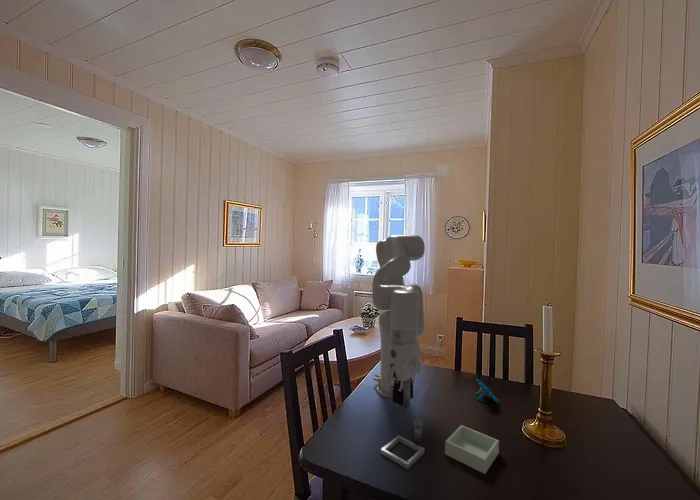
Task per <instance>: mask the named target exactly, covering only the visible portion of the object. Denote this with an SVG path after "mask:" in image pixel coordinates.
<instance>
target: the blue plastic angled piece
mask: <svg viewBox="0 0 700 500" xmlns="http://www.w3.org/2000/svg"><path fill="white" fill-rule="evenodd" d="M476 382H477V383H478V385H479V386H480V388H479V390H478V391H477V392H475V394H476V395H477V397H476V399H477V401H480V400H482V399H483V398H484V397H485V396H487V395H488V396H489V397H490V398H492V399H493V401H494V402H496V403H497V404H499V403H500V401H499V399H498V398H497V397H496V395H494V394H493V393H492V391H491V388H489V387H487V386H486V385H485V384H484V382H482V381H481V380H480V379H479V378H477V379H476ZM479 394H480V395H479ZM478 395H479V396H478Z"/></svg>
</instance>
